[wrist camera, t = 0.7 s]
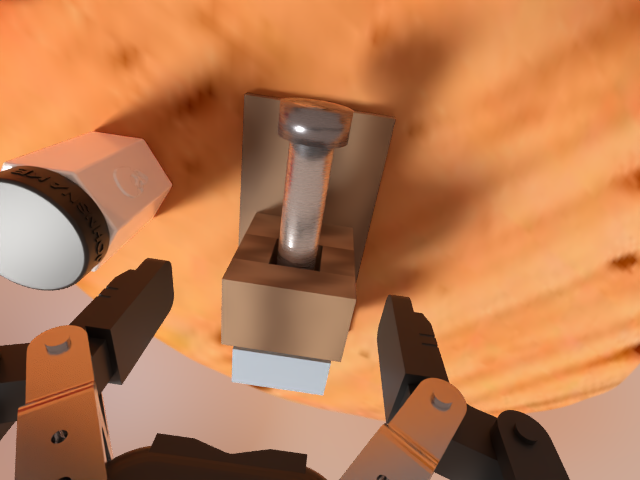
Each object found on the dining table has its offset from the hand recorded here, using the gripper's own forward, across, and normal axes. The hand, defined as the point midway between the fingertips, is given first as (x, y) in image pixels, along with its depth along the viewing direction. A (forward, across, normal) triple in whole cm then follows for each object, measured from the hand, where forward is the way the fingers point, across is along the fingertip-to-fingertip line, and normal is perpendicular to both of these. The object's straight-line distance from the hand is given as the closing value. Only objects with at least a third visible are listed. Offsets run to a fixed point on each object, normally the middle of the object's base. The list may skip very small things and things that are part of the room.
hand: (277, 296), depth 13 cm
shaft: (+15, 0, +7) cm, 17 cm away
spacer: (+18, 0, +16) cm, 24 cm away
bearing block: (+20, 0, +9) cm, 22 cm away
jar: (+20, +17, +5) cm, 27 cm away
